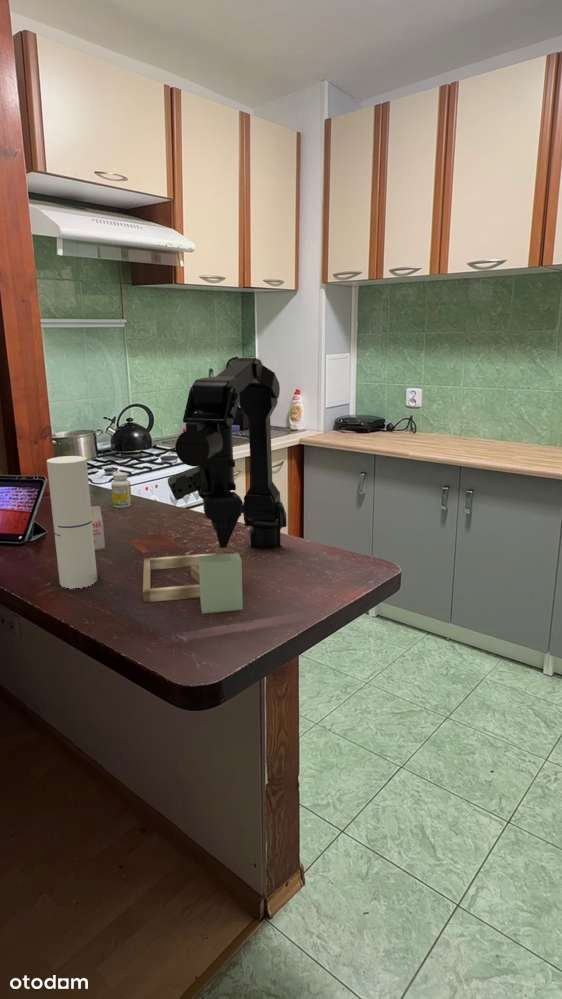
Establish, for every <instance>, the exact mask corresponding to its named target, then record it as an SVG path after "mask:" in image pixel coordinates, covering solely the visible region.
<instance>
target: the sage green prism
mask: <svg viewBox="0 0 562 999" xmlns="http://www.w3.org/2000/svg"><path fill="white" fill-rule="evenodd" d="M242 563H243V562H242V558H241V555H240V553H237V552H236V553H225V554H223V553H222V555H209V556H199V577H200V583H199V584H200V600H199V601H200V609H201V613H202V614H209V613H222V612H232V611H241V610H244V609H243V608H244V607H243V603H244V602H243V600H244V599H243V567H242V566H243V565H242Z"/></svg>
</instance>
